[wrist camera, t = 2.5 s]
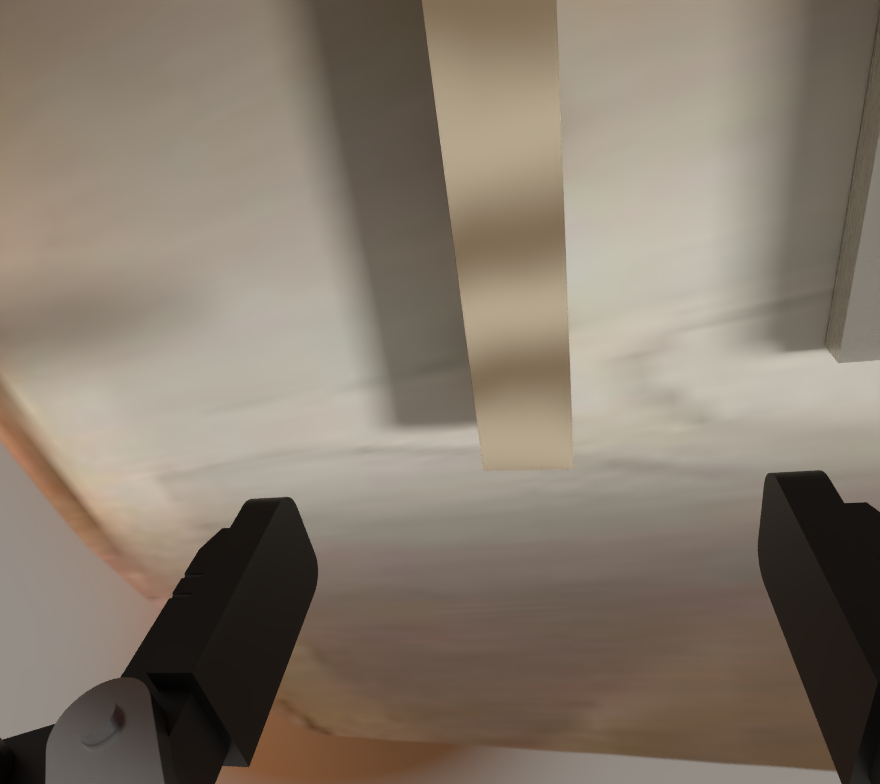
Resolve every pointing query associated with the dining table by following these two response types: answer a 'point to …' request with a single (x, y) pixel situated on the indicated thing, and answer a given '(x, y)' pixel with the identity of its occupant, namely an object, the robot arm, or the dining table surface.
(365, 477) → the dining table surface
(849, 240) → the ridge
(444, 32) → the beech batten
